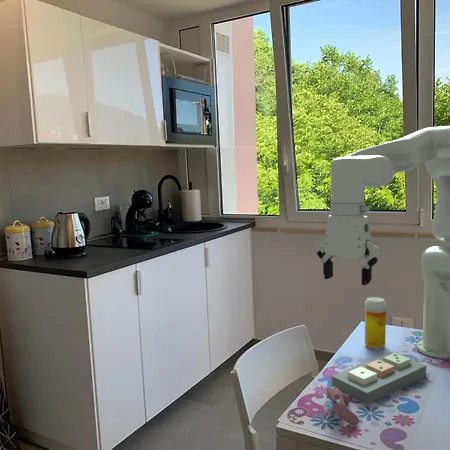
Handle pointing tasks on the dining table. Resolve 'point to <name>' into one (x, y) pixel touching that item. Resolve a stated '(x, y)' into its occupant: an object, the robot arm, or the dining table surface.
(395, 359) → the button three
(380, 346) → the beer can
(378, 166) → the robot arm
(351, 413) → the video game controller
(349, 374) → the button one
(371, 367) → the button two
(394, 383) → the panel
